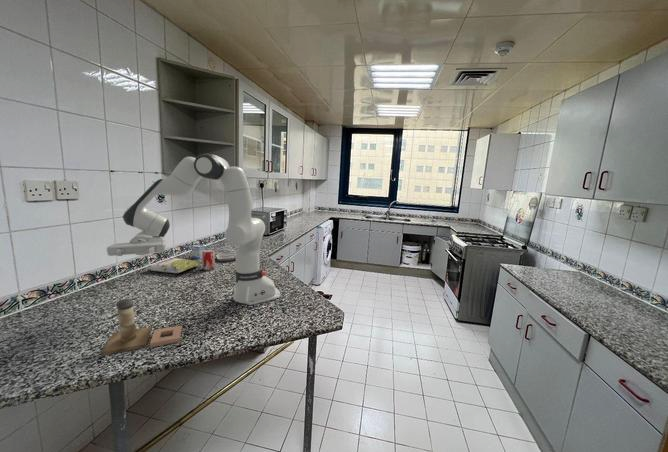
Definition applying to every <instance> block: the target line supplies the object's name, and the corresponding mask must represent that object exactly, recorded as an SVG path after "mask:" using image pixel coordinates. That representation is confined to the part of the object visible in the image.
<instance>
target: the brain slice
mask: <svg viewBox="0 0 668 452" xmlns="http://www.w3.org/2000/svg"><path fill="white" fill-rule="evenodd" d="M236 252H237V251H231V250H225V251H220V252H219V253H218V254H216V255H215V259H217V261H218V262H219V263H223V262H226V263H227V262H232V261H234V260H235V261H236V259H235V256H236Z"/></svg>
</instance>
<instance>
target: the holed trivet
mask: <svg viewBox="0 0 668 452" xmlns="http://www.w3.org/2000/svg"><path fill="white" fill-rule="evenodd" d="M182 330H183V326H182V325H176V326H171V327H170V326H169V327H165V328H164V327H163V328H158V329H154V331H153V333H152V337H151V339H150V342H149V345H150V346H149V348H153V347H158V346H159V347H160V346H164V345H168V344H174V343H178V342H179V343H180V342H181V337H182Z"/></svg>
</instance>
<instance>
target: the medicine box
mask: <svg viewBox="0 0 668 452" xmlns="http://www.w3.org/2000/svg"><path fill="white" fill-rule="evenodd" d="M204 250H205V246H204V245H199V244H194V245H191V258H193V259H197V260H202V253H203V251H204Z"/></svg>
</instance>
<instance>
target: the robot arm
mask: <svg viewBox="0 0 668 452" xmlns="http://www.w3.org/2000/svg"><path fill="white" fill-rule="evenodd" d="M202 178H204V179H207V180H213V181H217V180H219V181H220V182H221V184H222V185H223V189H224V193H225V197H226V203H227V209H228V222H227V223H228V225H227V228H226V230H225V233H224V235H225V239H226V241H227V243H228V244H230V245H232V246H235V247H238V248H237V251H235V252H236V256H235V270H234V282H235V287H234V294H233V297H232V300H233V301H235V302H237V303H241V304H244V305H249V306H252V305H253V306H254V305H256V304H261V303H264V302H268V301H274V300H278V299H279V298H281V291H280V290H279V289H278V288H277V287H276V286H275V283H274V281H273V280H272V279H271V278H269V277H267V275H266V274H267V273H266V271H265V270H264V269H263V268H262V267H260V252H261V246H262V242H263V241H262V240H263V237H264V233H265V231H266V225H265V222H264V220H262V219H260V218H258V217H252V210H253V207H254V202H253V197H252V194H251V190H250V185H249V182H248V179H247V175H246V173H245V171H244V169H243V168H241V167H239V166H235V165H234V166H231V163H230V161H228V159H226V158H223V157H220V156H219V155H216V154H212V153H201V154H199V155H198V156H197V157H194V156H186V157H184V158H182V160H181V161H179V163H178V164H177V165H176V166H175V168H174V169H173V171H172V172H171V174H170V175H168V177H166V178H160V179H157V180H156V181H155V182H153V184H151V186H150V187H148V188H147V190H145V191H144V192H143V194H142V195H141V196H140V197H139V198H138V199H137V200H136V201H135V202H134V203H133V204H132V205H130V206H129V207H127V209H125V211H124V213H123V214H122V215H123V216H122V219H123V221H124V223H125V225H126V226H130V227H133V228H136V229H138V230H140V232H138V233H137V234H136V235H134V236H133V237H132V238H131V239H130V240H129V241H128V242H118V243H117V242H116V243H113V244H111V245H109V246H107V247H106V254H107V256H109V257H113V256H117V257H122V256H127V255H128V256H129V255H137V256H146V255H149V254H154V253H164V252H166V251H167V250H166V249H167V248H166V247H167V245H166V240H165V239H164V238H165V236H166V234H167V233H168V231H169V229H170V226H171V225H170V221H169V219H168V218H167V217H164V216H162V215H160V214H158V213H156V212H154V211H151V210H149V209H148V208H147V207H146V206H147V205H148V204H149V203H150V202H151V201H152V200H153V199H154V198H155V197H156V196H158V195H161V196H162V195H164V196H170V197H175V198H177V197H178V198H180V197H181V198H182V197H187V196H189V195H190V194H191V193H192V192H193V191H194V189H195V188H196V186H197V185H198V184H199V182H200V180H201V179H202ZM277 298H278V299H277Z"/></svg>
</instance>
